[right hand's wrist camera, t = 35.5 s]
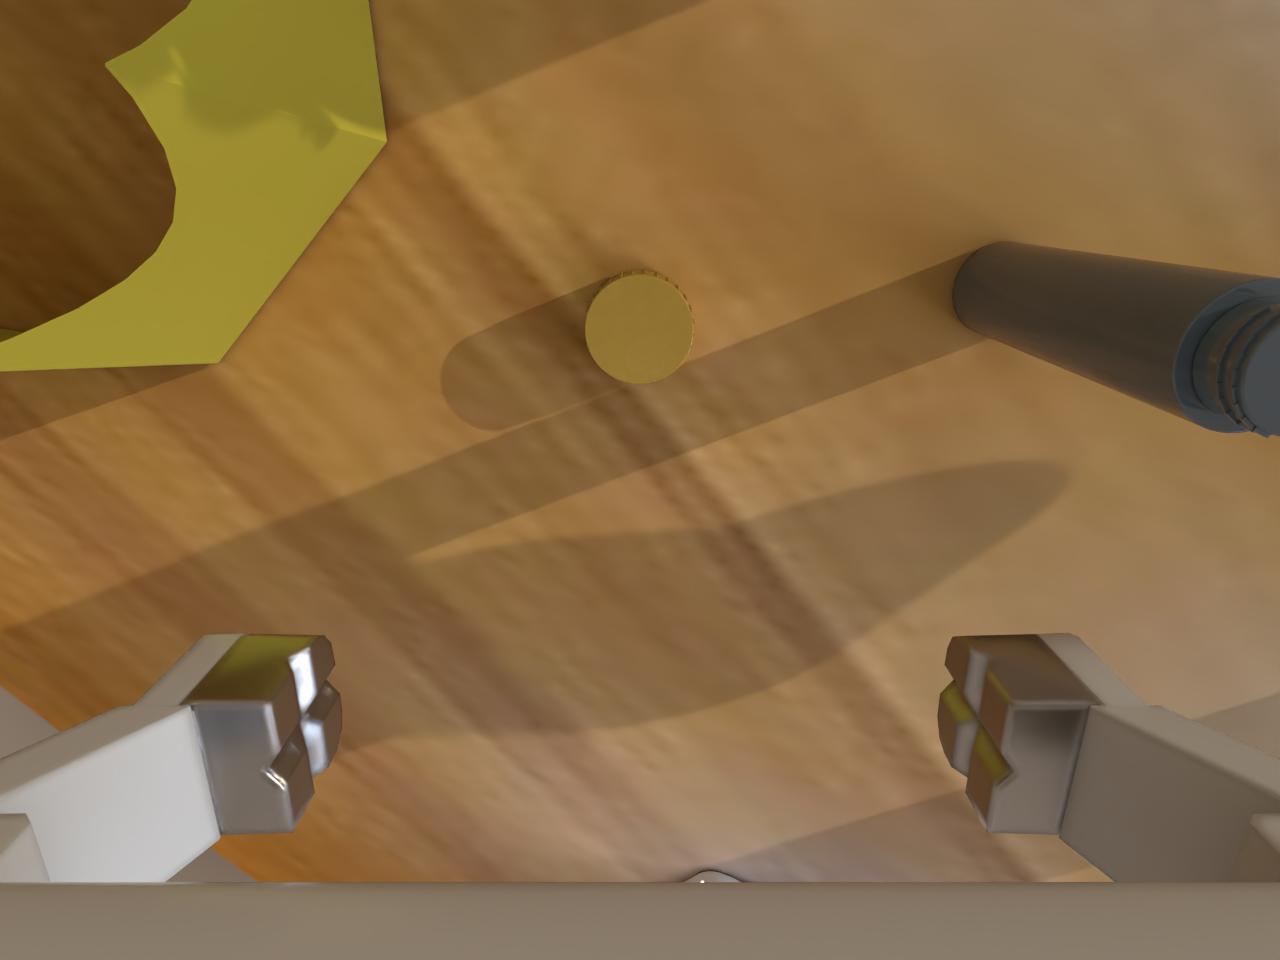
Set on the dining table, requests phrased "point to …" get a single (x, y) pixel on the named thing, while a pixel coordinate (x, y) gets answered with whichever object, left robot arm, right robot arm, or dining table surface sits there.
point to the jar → (1136, 328)
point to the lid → (639, 327)
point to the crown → (228, 175)
